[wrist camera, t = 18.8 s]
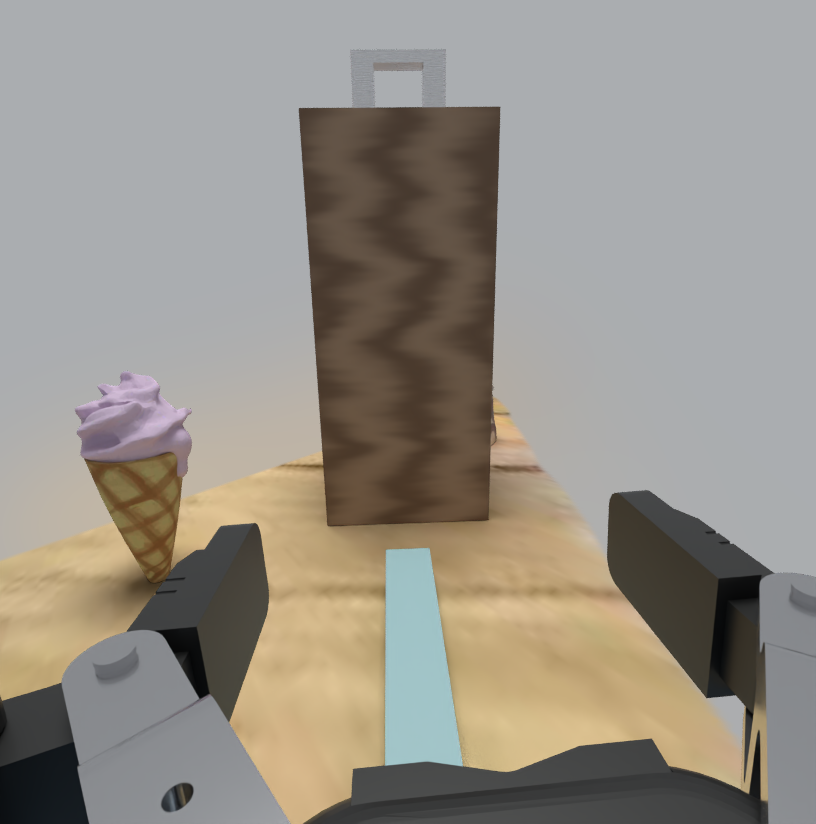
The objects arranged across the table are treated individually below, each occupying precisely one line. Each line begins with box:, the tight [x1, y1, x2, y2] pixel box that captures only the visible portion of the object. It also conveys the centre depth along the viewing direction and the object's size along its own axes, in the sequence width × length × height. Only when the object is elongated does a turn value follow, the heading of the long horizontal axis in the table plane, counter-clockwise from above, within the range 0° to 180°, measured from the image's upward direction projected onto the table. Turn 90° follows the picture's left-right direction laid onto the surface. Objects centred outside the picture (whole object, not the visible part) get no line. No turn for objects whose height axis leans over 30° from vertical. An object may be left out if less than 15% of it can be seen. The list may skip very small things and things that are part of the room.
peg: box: [385, 548, 463, 766], centre depth 23 cm, size 24×3×3 cm, turn 2°
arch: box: [350, 49, 446, 108], centre depth 37 cm, size 7×2×4 cm, turn 92°
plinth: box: [299, 107, 500, 526], centre depth 45 cm, size 14×12×32 cm
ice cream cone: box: [75, 371, 192, 583], centre depth 34 cm, size 7×6×15 cm
